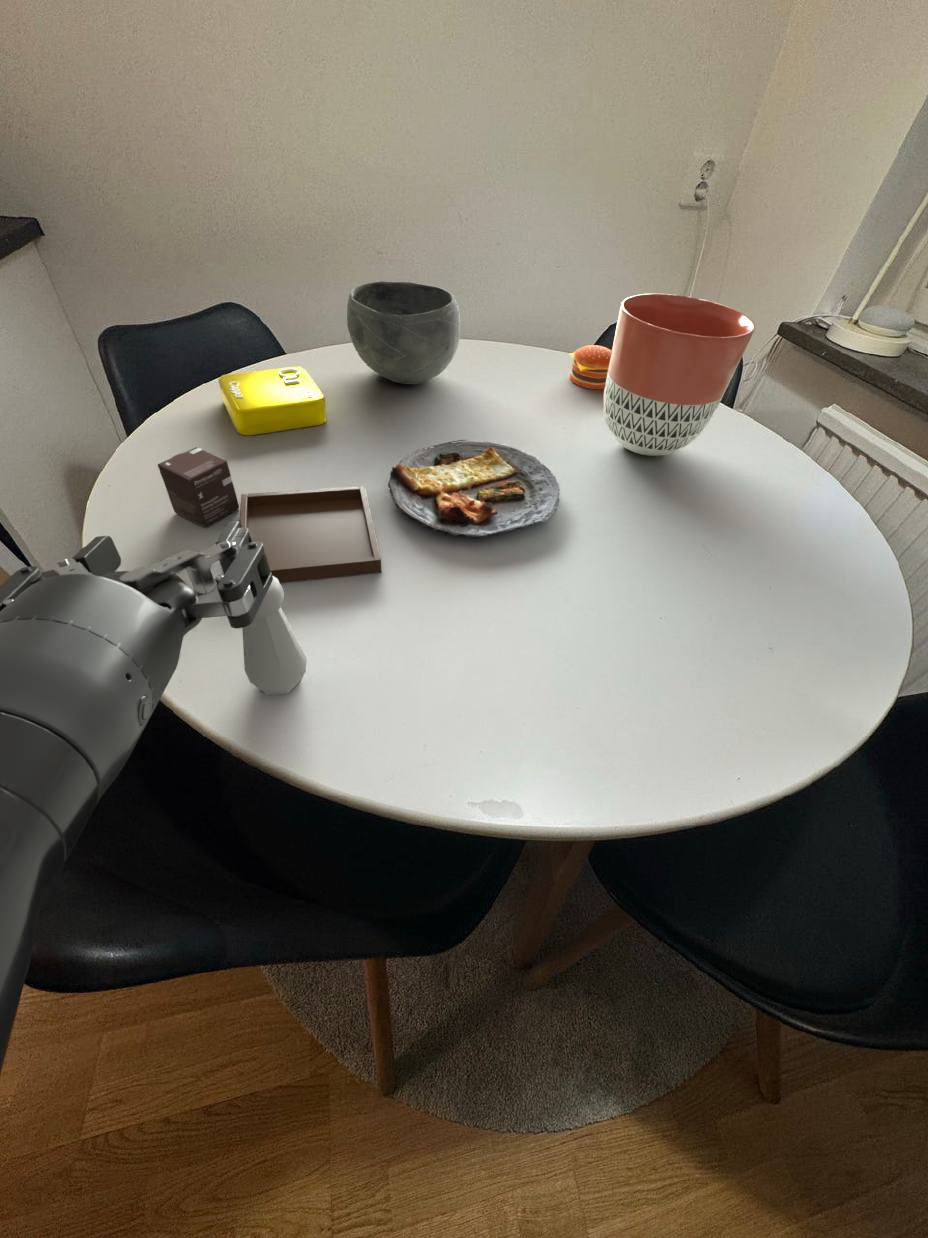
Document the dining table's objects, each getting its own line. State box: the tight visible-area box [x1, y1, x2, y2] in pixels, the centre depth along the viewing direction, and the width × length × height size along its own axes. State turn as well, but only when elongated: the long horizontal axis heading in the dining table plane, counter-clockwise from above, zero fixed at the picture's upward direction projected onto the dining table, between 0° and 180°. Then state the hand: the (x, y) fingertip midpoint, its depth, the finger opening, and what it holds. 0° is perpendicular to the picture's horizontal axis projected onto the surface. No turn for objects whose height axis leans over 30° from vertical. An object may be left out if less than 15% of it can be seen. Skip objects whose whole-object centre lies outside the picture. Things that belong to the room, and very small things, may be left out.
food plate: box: [387, 439, 561, 539], centre depth 80 cm, size 25×23×4 cm
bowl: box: [346, 280, 461, 385], centre depth 104 cm, size 21×21×15 cm
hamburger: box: [569, 344, 612, 390], centre depth 113 cm, size 9×10×7 cm
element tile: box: [218, 366, 328, 436], centre depth 93 cm, size 15×15×5 cm
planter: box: [602, 293, 756, 457], centre depth 88 cm, size 20×20×21 cm
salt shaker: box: [241, 576, 308, 696], centre depth 51 cm, size 6×6×13 cm
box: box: [157, 447, 240, 528], centre depth 71 cm, size 6×6×7 cm
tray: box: [239, 485, 382, 584], centre depth 71 cm, size 17×17×2 cm
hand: (175, 541), depth 37 cm, fingers open, 8 cm apart
